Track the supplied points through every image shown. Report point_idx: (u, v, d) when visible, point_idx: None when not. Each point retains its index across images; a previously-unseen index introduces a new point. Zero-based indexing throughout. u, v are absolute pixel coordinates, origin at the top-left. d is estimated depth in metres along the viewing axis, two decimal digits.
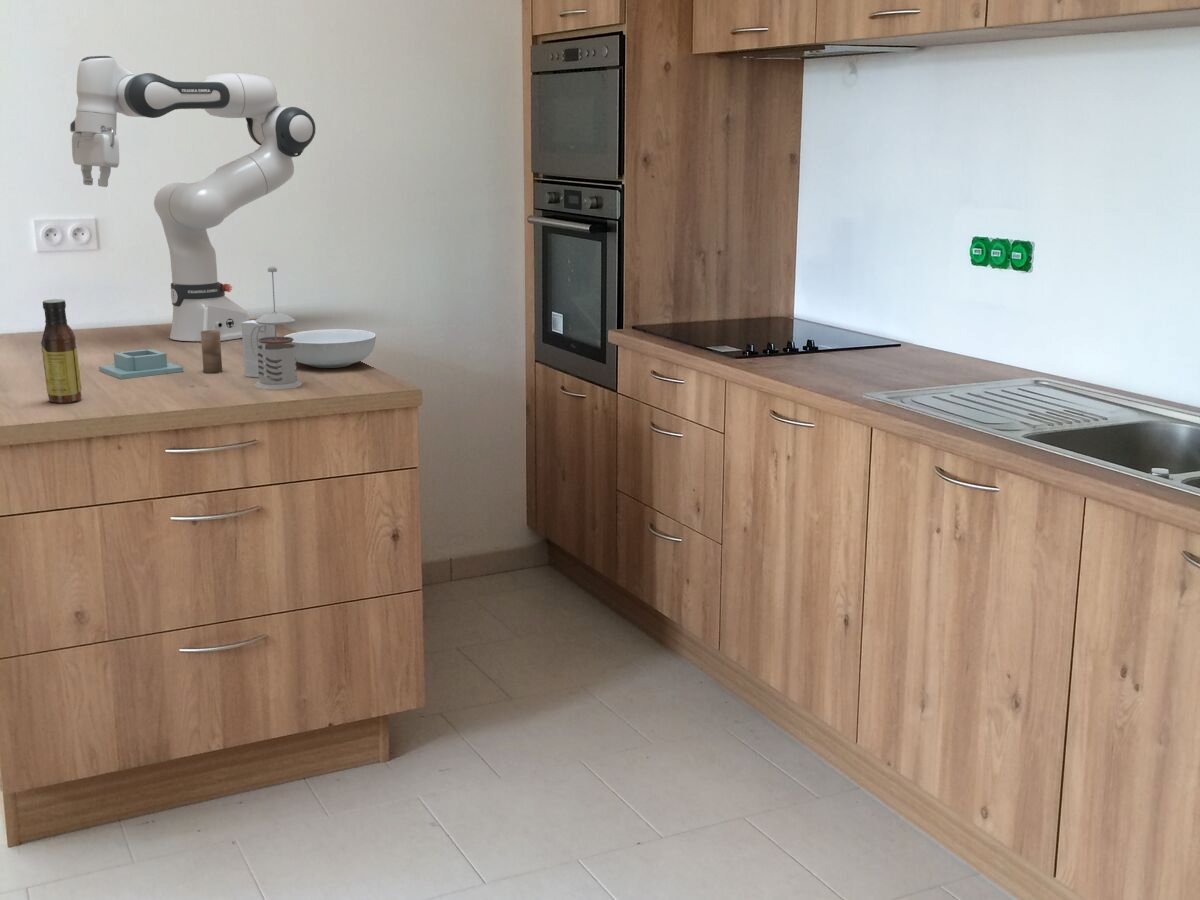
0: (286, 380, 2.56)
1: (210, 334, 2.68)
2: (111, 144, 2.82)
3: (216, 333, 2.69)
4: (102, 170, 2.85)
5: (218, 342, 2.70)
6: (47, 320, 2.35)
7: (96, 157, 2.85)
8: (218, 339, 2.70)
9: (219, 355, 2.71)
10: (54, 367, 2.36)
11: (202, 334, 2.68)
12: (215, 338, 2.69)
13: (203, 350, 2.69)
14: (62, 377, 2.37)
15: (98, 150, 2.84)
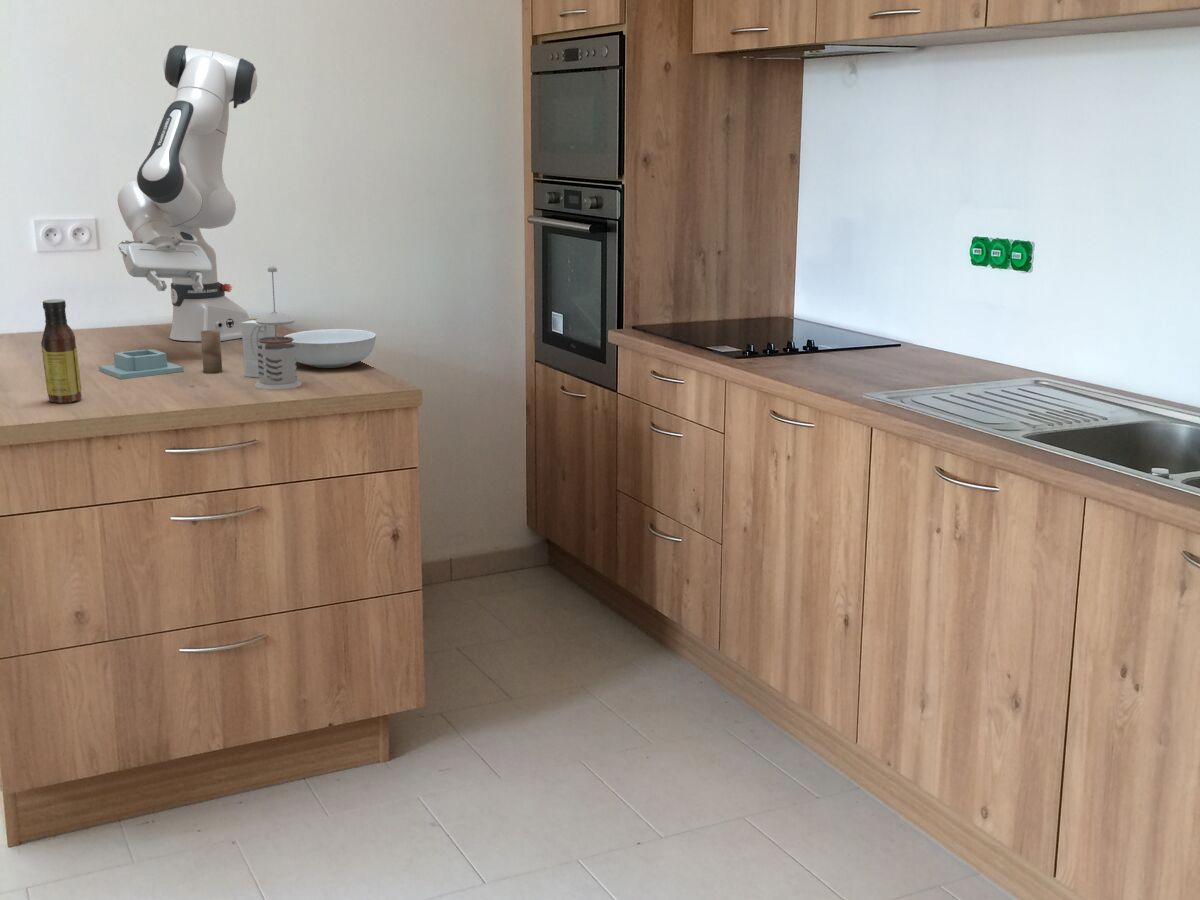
0: (286, 380, 2.56)
1: (210, 334, 2.68)
2: (124, 255, 2.71)
3: (216, 333, 2.69)
4: (147, 278, 2.72)
5: (218, 342, 2.70)
6: (47, 320, 2.35)
7: None
8: (218, 339, 2.70)
9: (219, 355, 2.71)
10: (54, 367, 2.36)
11: (202, 334, 2.68)
12: (215, 338, 2.69)
13: (203, 350, 2.69)
14: (62, 377, 2.37)
15: None
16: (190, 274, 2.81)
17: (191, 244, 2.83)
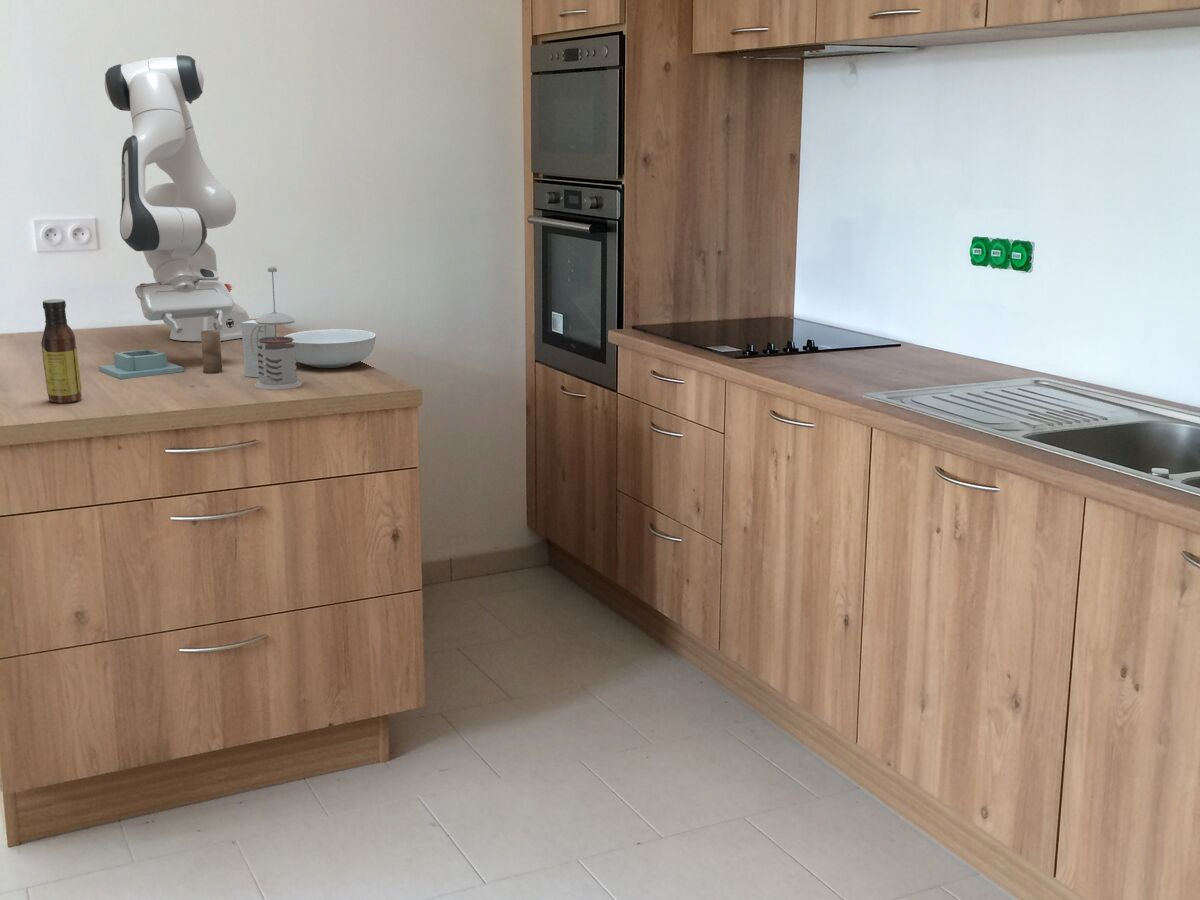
0: (286, 380, 2.56)
1: (210, 334, 2.68)
2: (140, 299, 2.69)
3: (216, 333, 2.69)
4: (164, 321, 2.70)
5: (218, 342, 2.70)
6: (47, 320, 2.35)
7: None
8: (218, 339, 2.70)
9: (219, 355, 2.71)
10: (54, 367, 2.36)
11: (202, 334, 2.68)
12: (215, 338, 2.69)
13: (203, 350, 2.69)
14: (62, 377, 2.37)
15: None
16: (211, 312, 2.78)
17: (212, 281, 2.79)
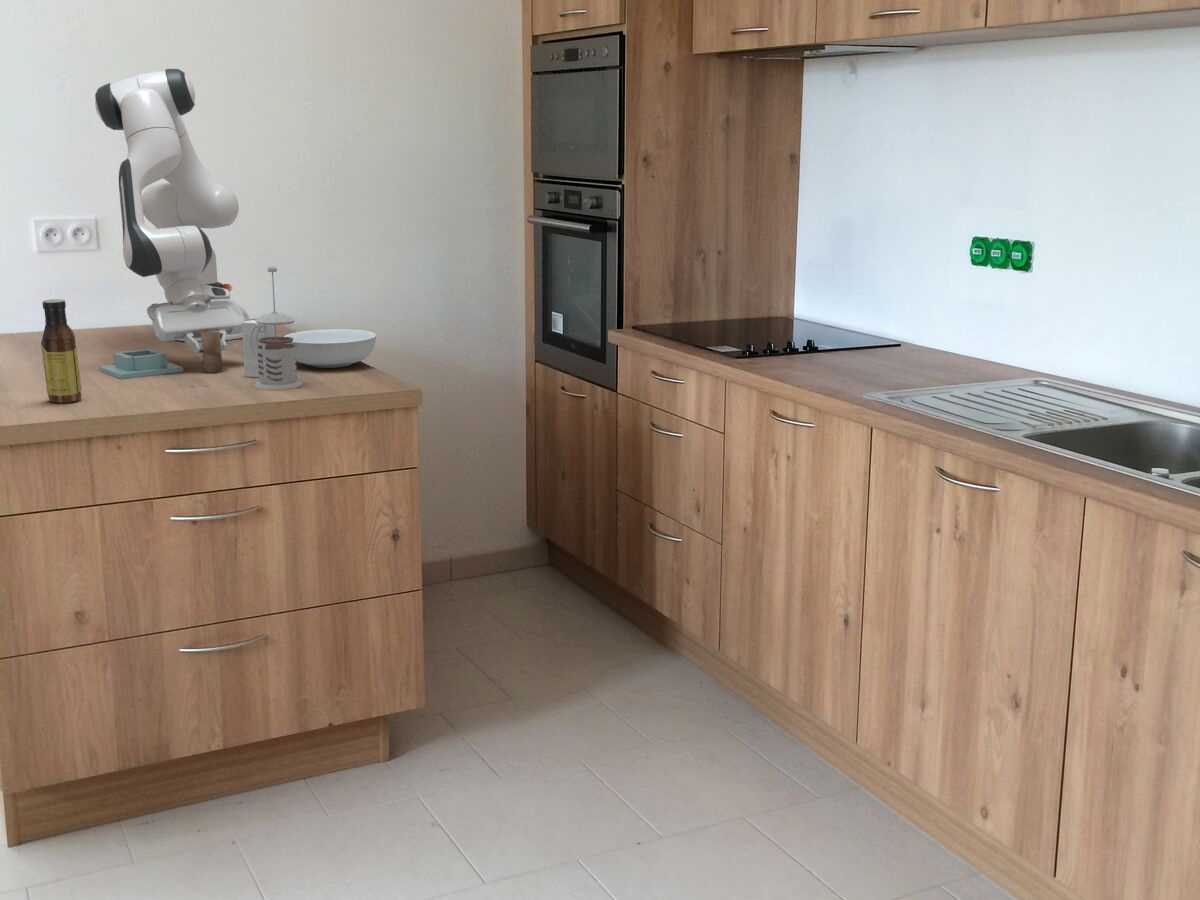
0: (286, 380, 2.56)
1: (210, 334, 2.68)
2: (152, 319, 2.68)
3: (216, 333, 2.69)
4: (185, 340, 2.70)
5: (218, 342, 2.70)
6: (47, 320, 2.35)
7: None
8: (218, 339, 2.70)
9: (219, 355, 2.71)
10: (54, 367, 2.36)
11: (202, 334, 2.68)
12: (215, 338, 2.69)
13: (203, 350, 2.69)
14: (62, 377, 2.37)
15: None
16: None
17: (223, 299, 2.77)
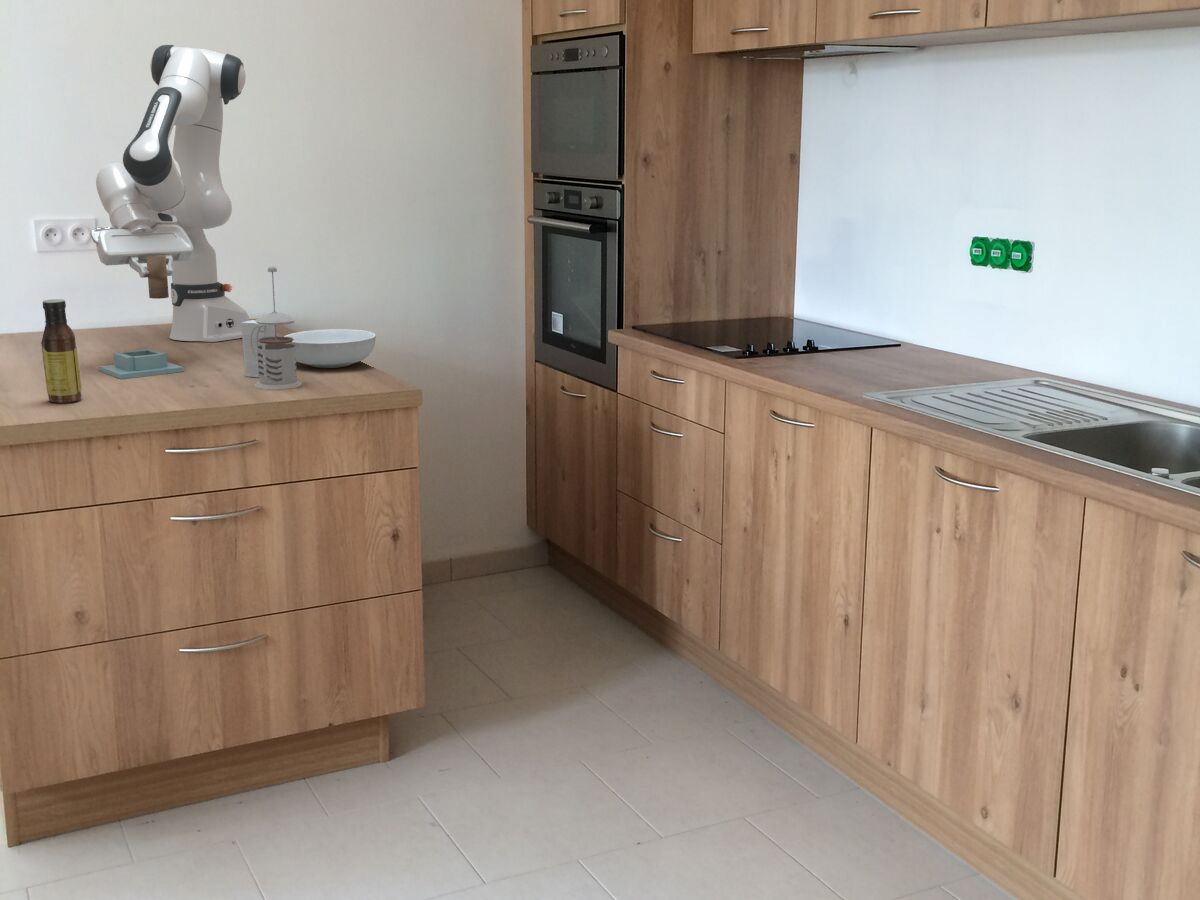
0: (286, 380, 2.56)
1: (155, 258, 2.63)
2: (96, 243, 2.63)
3: (162, 257, 2.64)
4: (130, 265, 2.65)
5: (164, 266, 2.65)
6: (47, 320, 2.35)
7: None
8: (164, 263, 2.65)
9: (165, 280, 2.66)
10: (54, 367, 2.36)
11: (147, 258, 2.64)
12: (161, 262, 2.64)
13: (149, 275, 2.65)
14: (62, 377, 2.37)
15: None
16: None
17: (170, 225, 2.72)
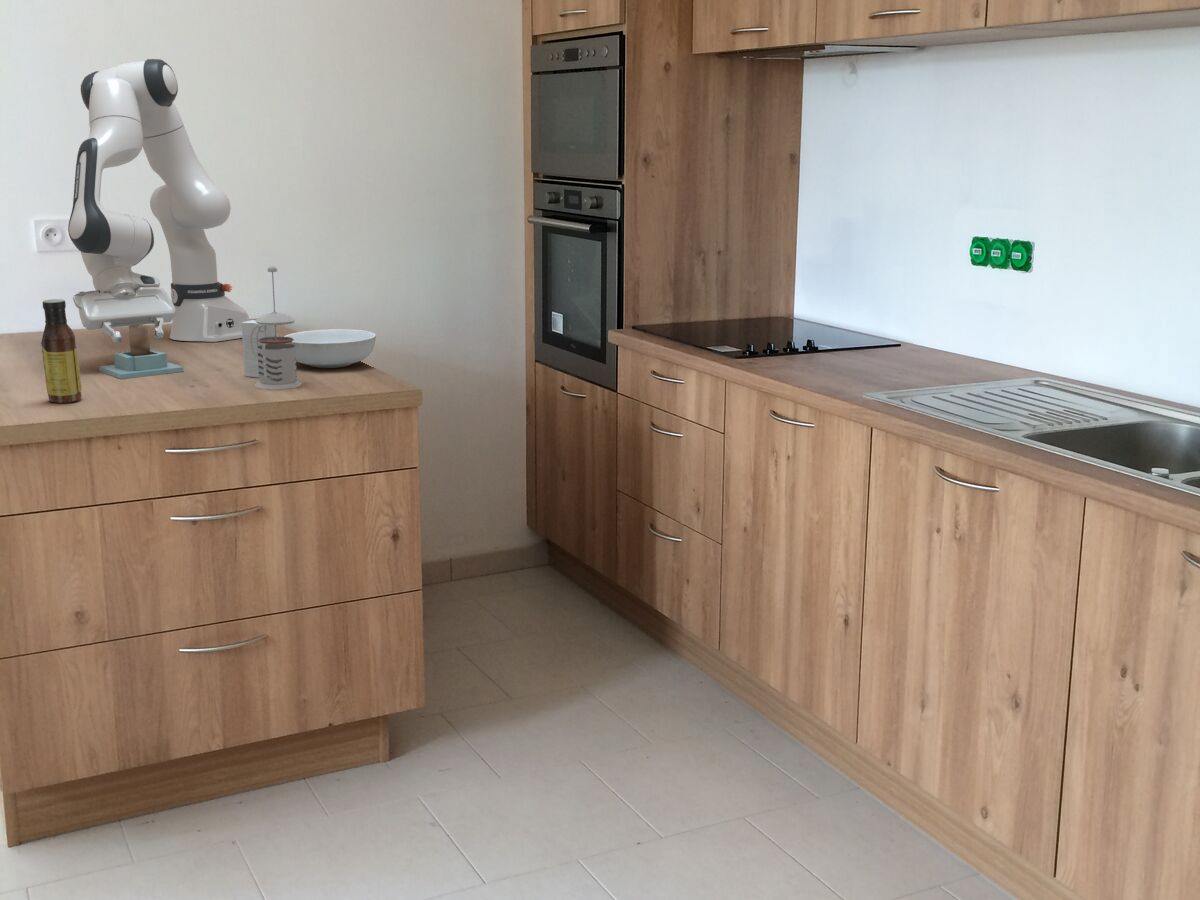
0: (286, 380, 2.56)
1: (138, 329, 2.67)
2: (78, 307, 2.66)
3: (144, 328, 2.68)
4: (103, 330, 2.67)
5: (146, 337, 2.69)
6: (47, 320, 2.35)
7: None
8: (146, 334, 2.69)
9: (147, 350, 2.70)
10: (54, 367, 2.36)
11: (130, 329, 2.67)
12: (143, 333, 2.68)
13: (131, 345, 2.68)
14: (62, 377, 2.37)
15: None
16: (152, 319, 2.74)
17: (152, 288, 2.76)
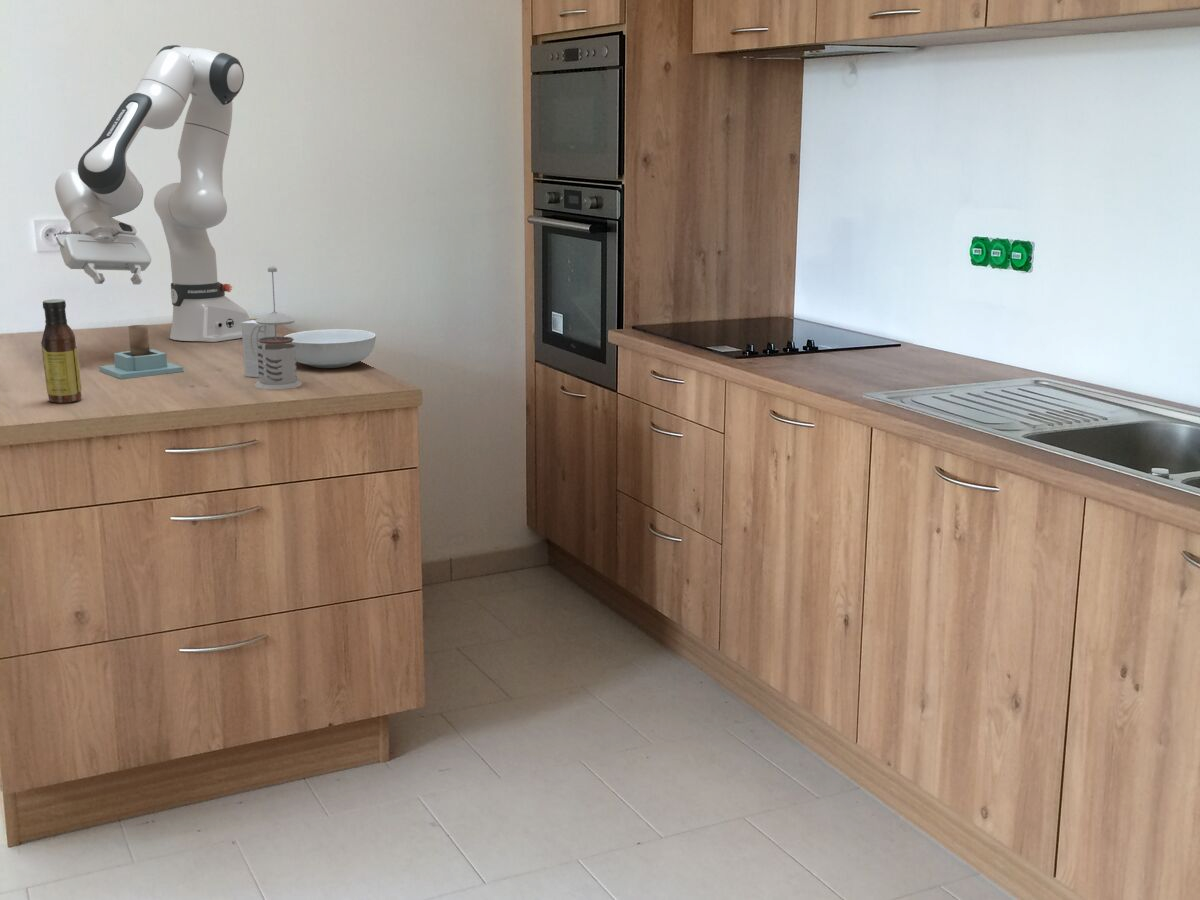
0: (286, 380, 2.56)
1: (137, 329, 2.67)
2: (61, 246, 2.68)
3: (143, 328, 2.68)
4: (85, 270, 2.70)
5: (146, 337, 2.69)
6: (47, 320, 2.35)
7: None
8: (146, 334, 2.69)
9: (147, 350, 2.69)
10: (54, 367, 2.36)
11: (129, 329, 2.67)
12: (143, 333, 2.68)
13: (131, 345, 2.68)
14: (62, 377, 2.37)
15: None
16: (128, 266, 2.79)
17: (130, 235, 2.81)
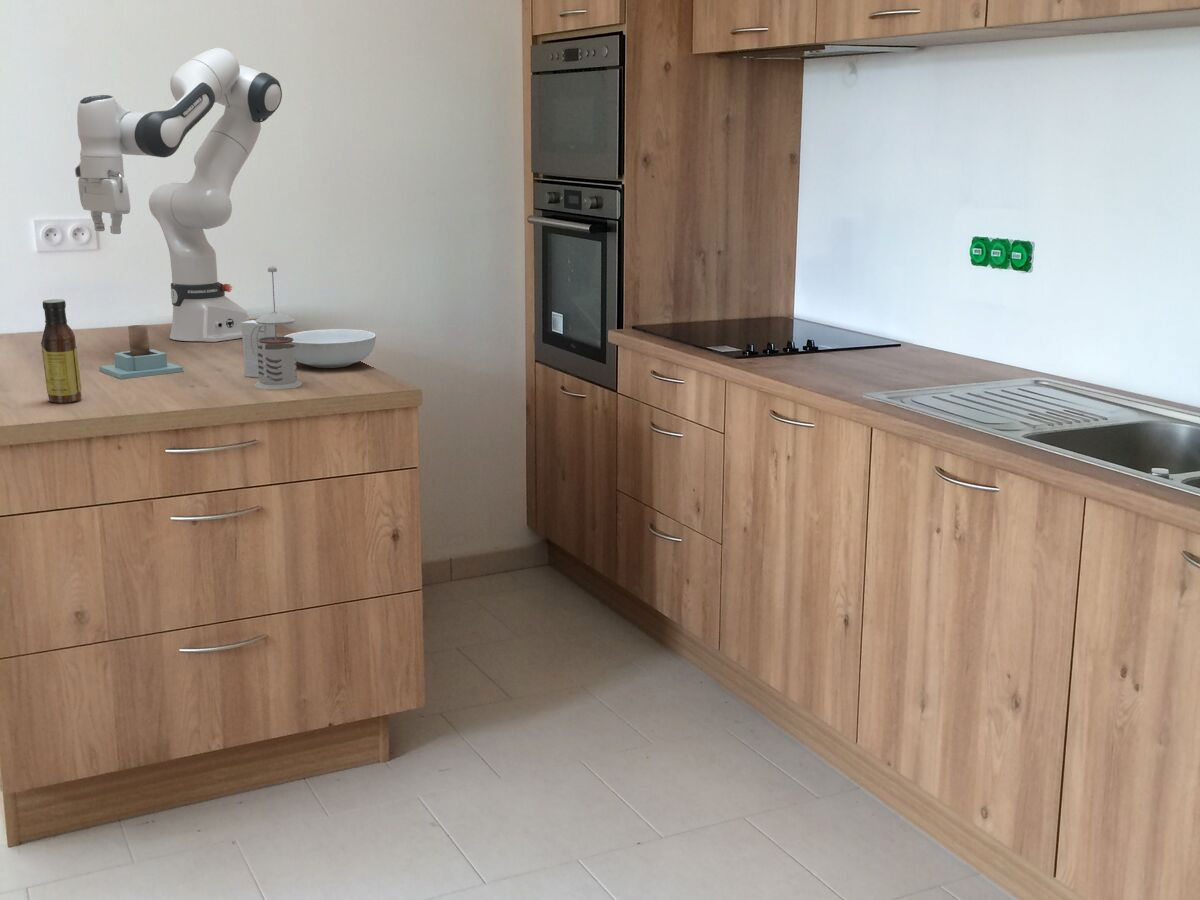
0: (286, 380, 2.56)
1: (137, 329, 2.67)
2: (120, 190, 2.69)
3: (143, 328, 2.68)
4: (113, 217, 2.72)
5: (145, 337, 2.69)
6: (47, 320, 2.35)
7: (106, 204, 2.72)
8: (145, 334, 2.69)
9: (147, 350, 2.69)
10: (54, 367, 2.36)
11: (129, 329, 2.67)
12: (142, 333, 2.68)
13: (130, 345, 2.68)
14: (62, 377, 2.37)
15: (107, 197, 2.70)
16: None
17: None
